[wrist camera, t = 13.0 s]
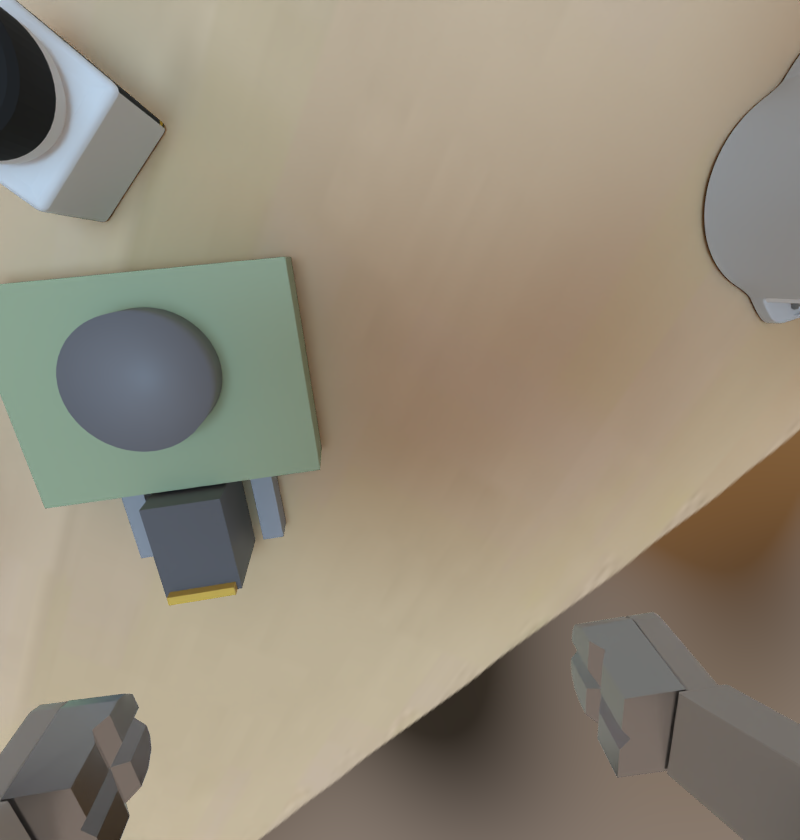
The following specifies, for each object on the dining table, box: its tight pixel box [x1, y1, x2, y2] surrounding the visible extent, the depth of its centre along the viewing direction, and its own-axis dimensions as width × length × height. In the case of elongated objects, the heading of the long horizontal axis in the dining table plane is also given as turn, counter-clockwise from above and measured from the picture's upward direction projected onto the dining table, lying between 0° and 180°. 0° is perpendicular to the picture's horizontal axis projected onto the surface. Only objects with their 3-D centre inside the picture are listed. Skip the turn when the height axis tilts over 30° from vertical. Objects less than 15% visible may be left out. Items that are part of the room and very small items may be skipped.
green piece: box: [0, 257, 321, 558], centre depth 31 cm, size 18×20×7 cm
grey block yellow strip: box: [139, 481, 255, 605], centre depth 34 cm, size 5×7×7 cm
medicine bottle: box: [0, 0, 165, 222], centre depth 22 cm, size 7×7×12 cm
